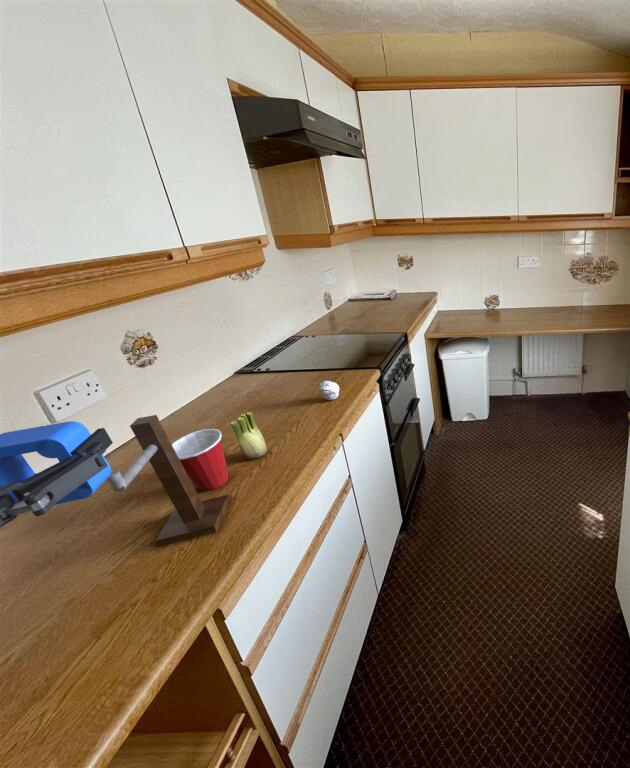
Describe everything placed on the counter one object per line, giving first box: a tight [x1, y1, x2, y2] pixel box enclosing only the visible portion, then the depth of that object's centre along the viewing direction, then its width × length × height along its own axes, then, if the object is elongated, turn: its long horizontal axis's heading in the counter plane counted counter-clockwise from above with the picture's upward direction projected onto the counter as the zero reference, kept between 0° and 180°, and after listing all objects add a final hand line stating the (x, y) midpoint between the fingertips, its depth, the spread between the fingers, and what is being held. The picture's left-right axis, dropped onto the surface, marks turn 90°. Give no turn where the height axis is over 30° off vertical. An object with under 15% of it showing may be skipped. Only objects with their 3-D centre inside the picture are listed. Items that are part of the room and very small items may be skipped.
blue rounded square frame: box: [0, 420, 113, 506], centre depth 56 cm, size 5×10×10 cm, turn 108°
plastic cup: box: [171, 428, 229, 492], centre depth 94 cm, size 11×11×12 cm
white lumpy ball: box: [318, 380, 340, 401], centre depth 132 cm, size 6×7×7 cm
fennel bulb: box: [230, 411, 268, 460], centre depth 104 cm, size 6×5×12 cm
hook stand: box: [106, 414, 231, 547], centre depth 76 cm, size 19×10×25 cm, turn 18°
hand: (61, 444), depth 60 cm, fingers closed on blue rounded square frame, 10 cm apart
